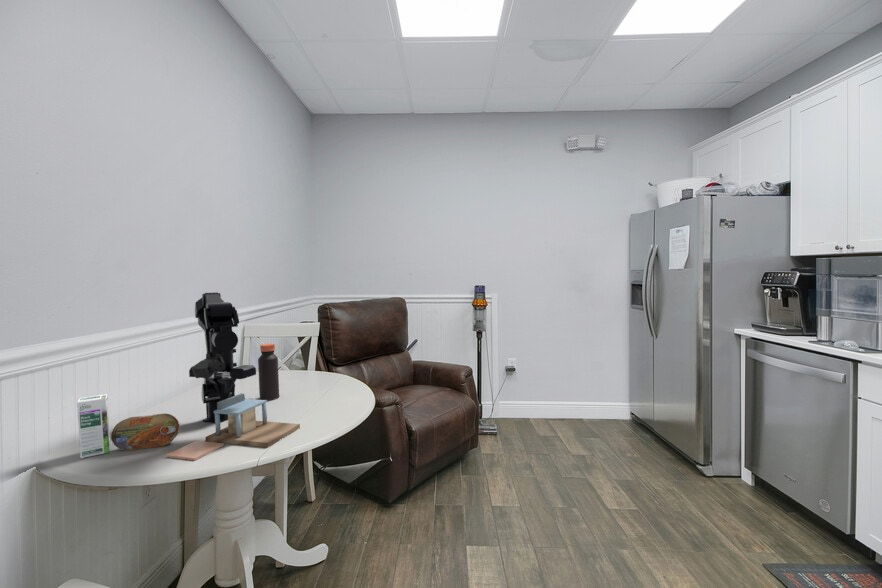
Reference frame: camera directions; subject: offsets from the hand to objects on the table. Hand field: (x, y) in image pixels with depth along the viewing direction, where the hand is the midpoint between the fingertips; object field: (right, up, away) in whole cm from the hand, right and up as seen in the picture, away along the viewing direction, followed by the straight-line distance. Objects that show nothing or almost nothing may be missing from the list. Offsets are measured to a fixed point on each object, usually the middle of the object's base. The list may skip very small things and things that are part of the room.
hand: (224, 400), depth 118 cm
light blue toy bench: (+6, -8, -1) cm, 10 cm away
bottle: (-1, -8, +34) cm, 35 cm away
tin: (-16, -10, -9) cm, 21 cm away
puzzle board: (+10, -9, -2) cm, 14 cm away
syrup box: (-27, -11, -12) cm, 31 cm away
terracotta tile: (0, -10, -13) cm, 16 cm away
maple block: (+6, -9, -1) cm, 11 cm away
